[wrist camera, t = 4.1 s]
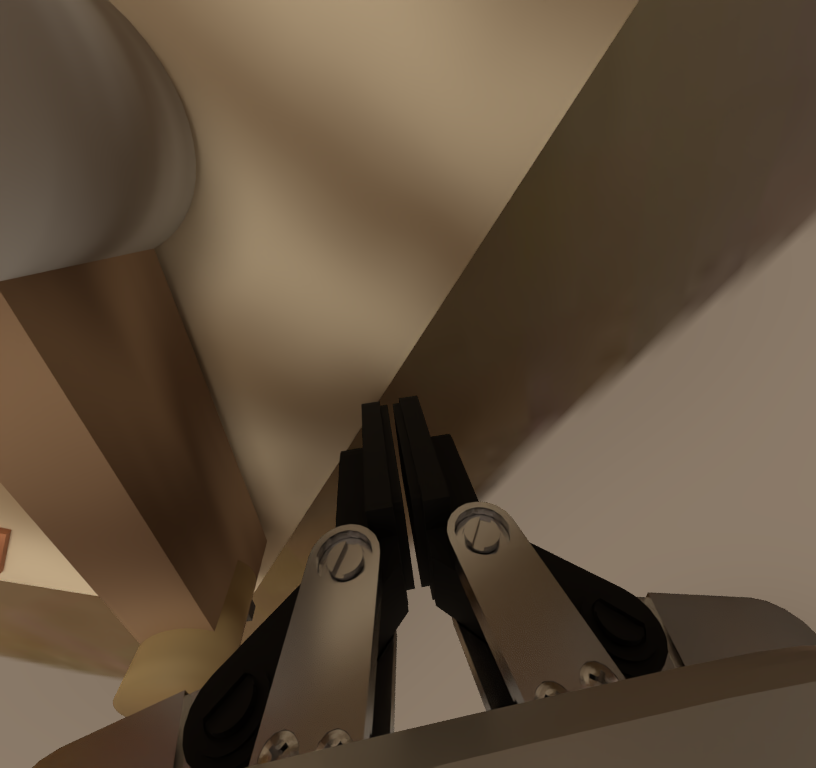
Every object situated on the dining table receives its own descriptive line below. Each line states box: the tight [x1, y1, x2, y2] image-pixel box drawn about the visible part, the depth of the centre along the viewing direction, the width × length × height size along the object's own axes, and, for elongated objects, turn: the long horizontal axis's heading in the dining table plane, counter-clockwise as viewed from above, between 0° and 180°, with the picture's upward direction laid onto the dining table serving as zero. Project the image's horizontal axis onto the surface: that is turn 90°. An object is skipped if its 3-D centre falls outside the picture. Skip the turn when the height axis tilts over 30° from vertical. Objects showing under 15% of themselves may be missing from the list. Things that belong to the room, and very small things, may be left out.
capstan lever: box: [0, 0, 267, 717], centre depth 8 cm, size 18×5×5 cm, turn 3°
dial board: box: [0, 0, 639, 596], centre depth 9 cm, size 25×18×3 cm
